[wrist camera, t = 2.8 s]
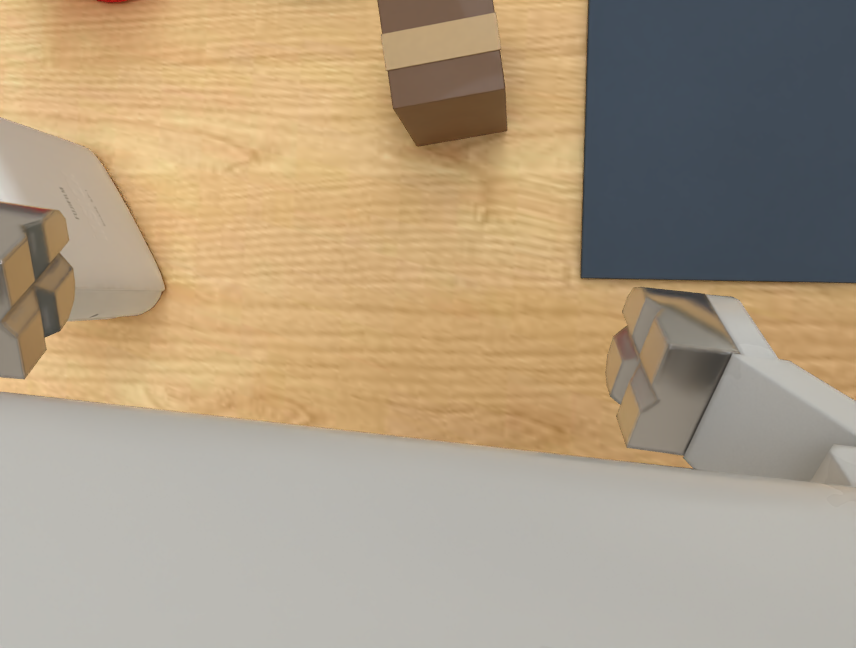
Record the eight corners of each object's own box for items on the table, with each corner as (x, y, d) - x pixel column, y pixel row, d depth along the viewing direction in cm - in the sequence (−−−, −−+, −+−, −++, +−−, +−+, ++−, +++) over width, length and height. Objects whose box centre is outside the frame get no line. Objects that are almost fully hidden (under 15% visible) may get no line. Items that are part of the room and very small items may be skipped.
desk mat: (591, -100, 39) (592, -105, 39) (871, -111, 37) (876, -117, 37) (580, 278, 40) (581, 277, 39) (855, 283, 38) (860, 282, 38)
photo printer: (180, 295, 42) (44, 293, 30) (118, 330, 43) (-40, 342, 31) (98, 139, 43) (-70, 74, 30) (38, 176, 43) (-151, 126, 31)
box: (495, 39, 40) (490, -27, 32) (508, 130, 40) (506, 88, 32) (403, 56, 41) (375, -4, 32) (416, 146, 41) (391, 108, 33)
